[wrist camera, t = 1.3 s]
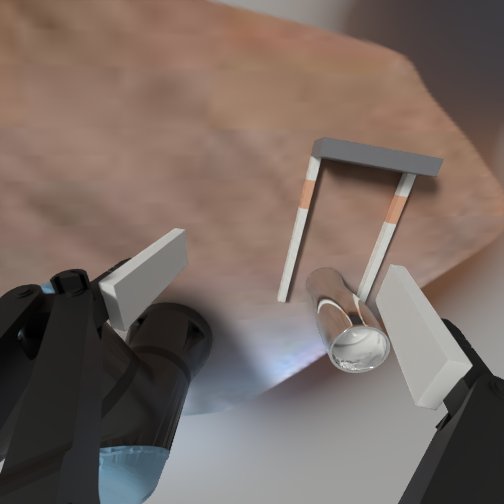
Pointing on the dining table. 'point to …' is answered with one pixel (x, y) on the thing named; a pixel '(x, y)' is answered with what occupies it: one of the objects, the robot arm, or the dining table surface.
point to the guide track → (369, 158)
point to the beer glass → (346, 324)
